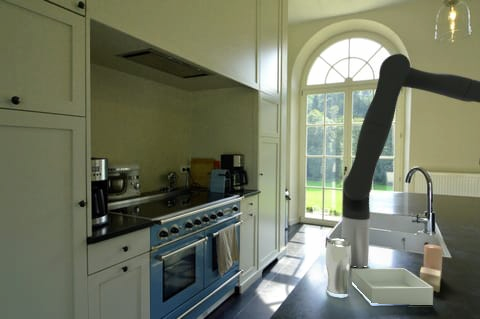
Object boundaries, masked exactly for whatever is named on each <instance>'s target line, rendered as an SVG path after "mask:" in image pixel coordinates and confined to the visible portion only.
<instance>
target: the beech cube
mask: <svg viewBox="0 0 480 319" xmlns="http://www.w3.org/2000/svg"><path fill="white" fill-rule="evenodd" d="M440 275H441V276H442V270H441V271H439V270H434V269H430V268H425V267H424V266H421V268H420V271H419V278H420V279H421V280H423V281H424V282H426V283H427V284H429V285H430V286H432V287H433V292H434V291H436V293H438V292H439V293H440V288H441V279H440Z"/></svg>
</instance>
